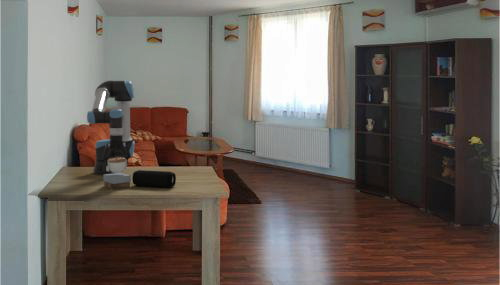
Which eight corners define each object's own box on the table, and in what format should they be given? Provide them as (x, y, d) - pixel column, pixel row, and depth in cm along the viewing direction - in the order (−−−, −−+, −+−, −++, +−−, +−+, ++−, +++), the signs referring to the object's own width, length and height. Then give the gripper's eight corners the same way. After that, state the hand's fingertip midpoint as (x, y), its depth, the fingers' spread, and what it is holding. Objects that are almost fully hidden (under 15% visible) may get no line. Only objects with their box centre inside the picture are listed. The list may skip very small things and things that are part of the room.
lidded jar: (109, 170, 361) (109, 155, 360) (126, 170, 362) (126, 155, 361) (106, 173, 351) (106, 158, 350) (124, 173, 352) (124, 158, 351)
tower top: (103, 181, 357) (103, 174, 357) (120, 178, 365) (120, 172, 365) (113, 183, 349) (113, 177, 348) (130, 181, 357) (130, 175, 356)
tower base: (104, 186, 359) (104, 180, 359) (122, 185, 366) (122, 178, 366) (111, 190, 350) (111, 183, 349) (130, 188, 356) (130, 181, 356)
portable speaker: (176, 186, 364) (176, 170, 363) (171, 189, 354) (171, 173, 353) (137, 184, 368) (137, 168, 366) (131, 187, 358) (131, 171, 357)
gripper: (100, 136, 344) (100, 172, 347) (136, 134, 357) (136, 169, 360) (95, 135, 350) (96, 171, 353) (131, 133, 363) (131, 167, 366)
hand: (116, 170), depth 356 cm, fingers closed on lidded jar, 11 cm apart
